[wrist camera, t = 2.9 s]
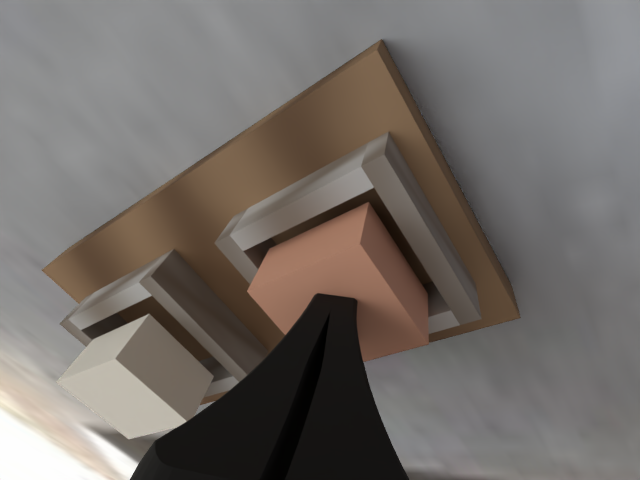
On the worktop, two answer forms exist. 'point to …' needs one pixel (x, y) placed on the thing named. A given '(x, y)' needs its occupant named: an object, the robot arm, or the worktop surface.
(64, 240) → the worktop surface
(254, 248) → the board
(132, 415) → the cream key
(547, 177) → the worktop surface
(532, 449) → the worktop surface
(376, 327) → the pink flat block
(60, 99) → the worktop surface
